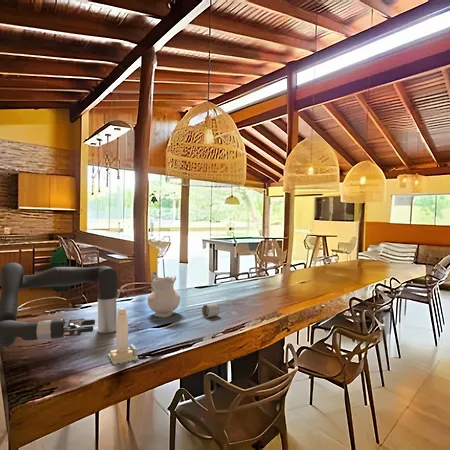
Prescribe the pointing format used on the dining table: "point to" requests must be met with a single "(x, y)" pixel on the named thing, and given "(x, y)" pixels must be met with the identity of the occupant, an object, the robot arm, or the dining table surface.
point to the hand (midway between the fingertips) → (94, 325)
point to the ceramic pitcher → (163, 296)
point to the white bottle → (122, 330)
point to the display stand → (123, 355)
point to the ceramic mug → (210, 310)
